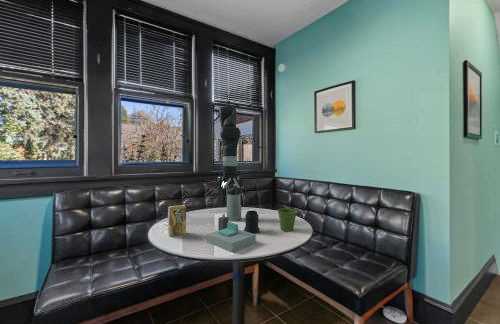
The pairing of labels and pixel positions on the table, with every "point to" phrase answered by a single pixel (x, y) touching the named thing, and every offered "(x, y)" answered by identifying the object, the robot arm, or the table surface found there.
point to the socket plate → (231, 240)
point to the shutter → (230, 229)
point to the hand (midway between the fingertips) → (229, 195)
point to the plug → (222, 222)
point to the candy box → (176, 220)
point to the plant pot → (287, 219)
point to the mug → (251, 222)
